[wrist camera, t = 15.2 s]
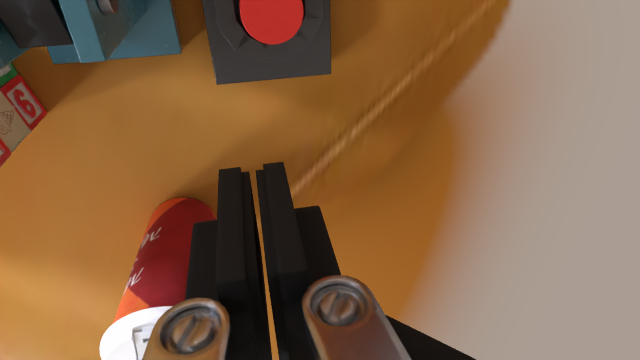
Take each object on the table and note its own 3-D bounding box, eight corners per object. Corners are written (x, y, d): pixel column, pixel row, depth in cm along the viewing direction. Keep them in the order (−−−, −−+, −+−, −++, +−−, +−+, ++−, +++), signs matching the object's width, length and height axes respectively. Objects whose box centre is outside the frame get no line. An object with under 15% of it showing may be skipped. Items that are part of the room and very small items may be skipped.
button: (235, -25, 23) (235, -21, 22) (297, -29, 24) (302, -25, 22) (243, 39, 25) (244, 47, 24) (301, 35, 26) (305, 42, 24)
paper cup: (126, 192, 34) (73, 339, 22) (221, 181, 35) (219, 315, 23) (150, 262, 38) (117, 415, 26) (234, 250, 39) (238, 391, 27)
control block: (188, -91, 24) (182, -91, 21) (321, -96, 25) (335, -97, 22) (217, 74, 30) (216, 94, 27) (325, 64, 31) (337, 82, 28)
